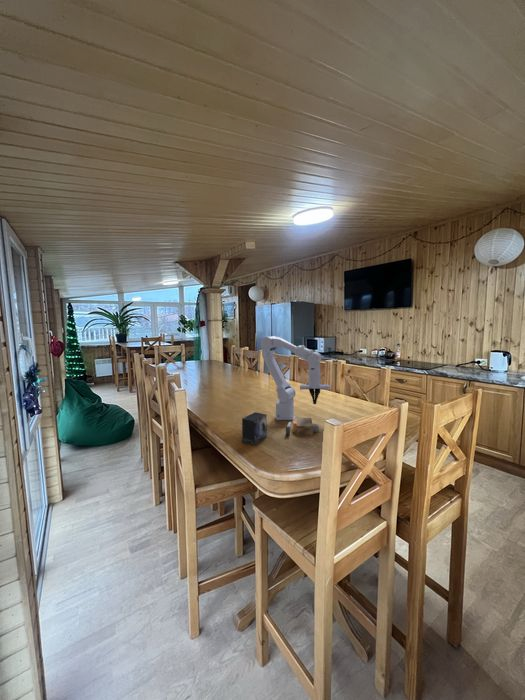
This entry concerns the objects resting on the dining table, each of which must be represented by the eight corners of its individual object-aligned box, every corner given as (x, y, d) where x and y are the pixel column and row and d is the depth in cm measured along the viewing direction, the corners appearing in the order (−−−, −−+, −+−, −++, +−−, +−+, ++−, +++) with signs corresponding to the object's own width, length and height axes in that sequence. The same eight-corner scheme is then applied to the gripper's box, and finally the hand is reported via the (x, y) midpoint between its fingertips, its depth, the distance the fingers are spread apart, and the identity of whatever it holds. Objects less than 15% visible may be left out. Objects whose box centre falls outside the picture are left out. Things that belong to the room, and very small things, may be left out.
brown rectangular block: (293, 432, 140) (293, 423, 139) (293, 428, 146) (293, 419, 145) (319, 433, 139) (319, 424, 138) (318, 428, 145) (318, 420, 144)
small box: (254, 445, 126) (253, 420, 125) (241, 442, 130) (240, 418, 129) (267, 437, 135) (267, 413, 134) (255, 434, 139) (254, 411, 138)
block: (296, 435, 137) (296, 426, 136) (296, 425, 149) (296, 417, 148) (312, 435, 136) (312, 426, 136) (311, 426, 148) (311, 417, 147)
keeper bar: (288, 426, 146) (288, 421, 146) (291, 426, 146) (291, 422, 146) (286, 432, 138) (286, 428, 138) (289, 432, 138) (289, 428, 138)
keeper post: (285, 435, 136) (285, 427, 136) (285, 434, 138) (285, 426, 138) (289, 435, 136) (289, 427, 136) (289, 434, 138) (289, 426, 137)
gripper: (299, 378, 148) (300, 405, 149) (330, 378, 147) (330, 406, 148) (299, 375, 155) (299, 401, 156) (328, 375, 154) (328, 402, 155)
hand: (314, 403), depth 153 cm, fingers closed
